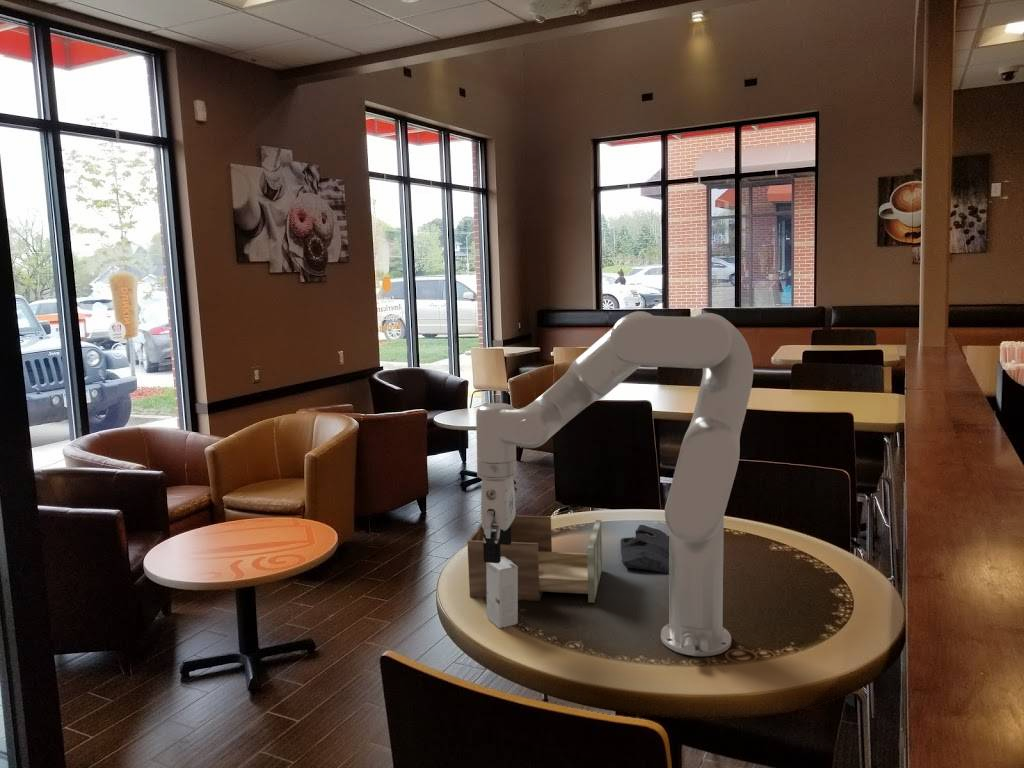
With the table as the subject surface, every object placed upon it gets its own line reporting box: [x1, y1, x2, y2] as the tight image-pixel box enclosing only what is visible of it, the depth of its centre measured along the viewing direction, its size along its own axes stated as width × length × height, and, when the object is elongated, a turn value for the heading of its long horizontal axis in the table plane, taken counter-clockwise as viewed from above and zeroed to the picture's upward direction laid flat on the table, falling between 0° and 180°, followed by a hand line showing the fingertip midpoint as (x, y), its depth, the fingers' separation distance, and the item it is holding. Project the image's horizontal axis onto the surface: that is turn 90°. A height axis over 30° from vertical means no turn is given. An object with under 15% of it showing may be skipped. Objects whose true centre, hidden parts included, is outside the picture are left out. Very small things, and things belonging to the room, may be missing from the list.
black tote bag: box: [620, 524, 669, 574], centre depth 182 cm, size 15×22×5 cm
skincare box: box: [486, 556, 519, 629], centre depth 150 cm, size 6×4×12 cm
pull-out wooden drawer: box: [538, 519, 603, 604], centre depth 166 cm, size 18×15×12 cm
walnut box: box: [466, 514, 553, 602], centre depth 168 cm, size 18×15×12 cm
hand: (497, 552), depth 149 cm, fingers open, 9 cm apart
